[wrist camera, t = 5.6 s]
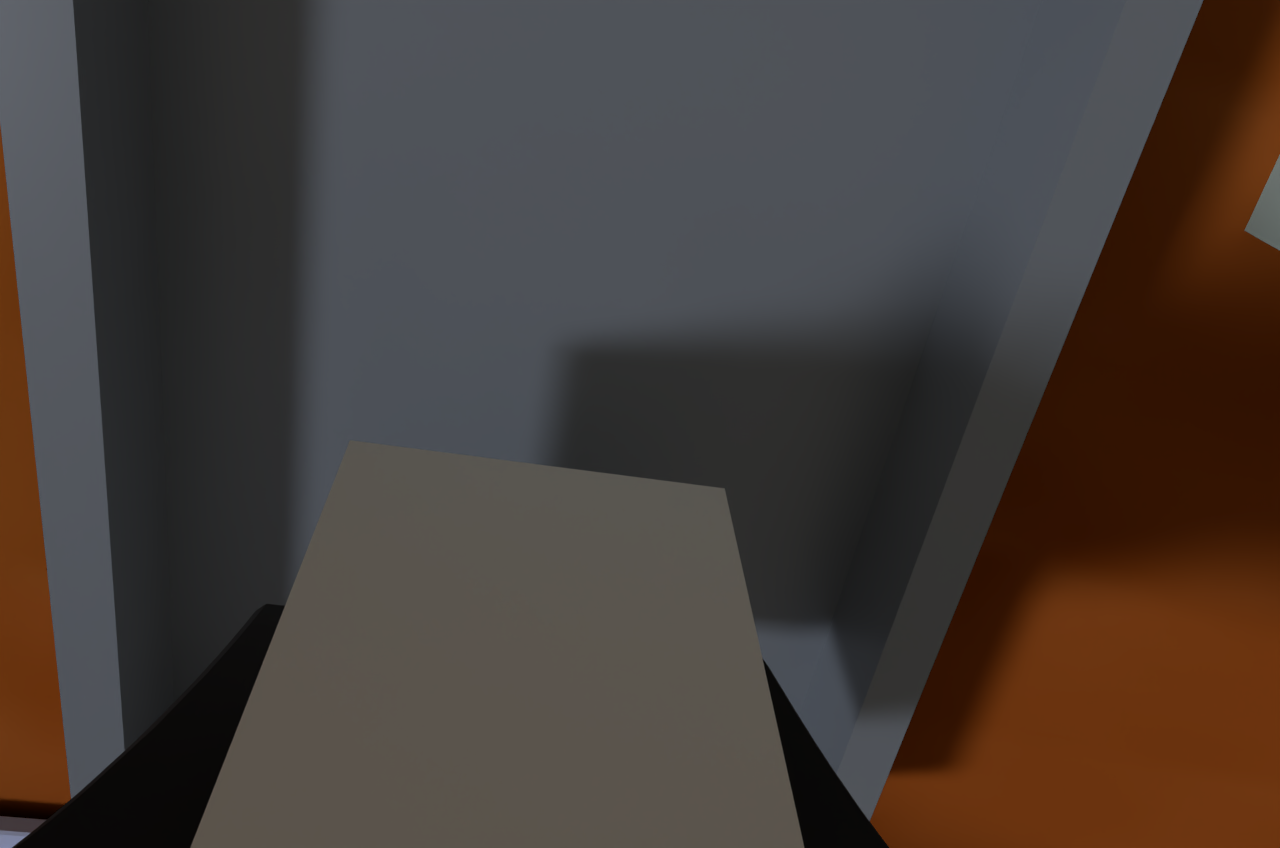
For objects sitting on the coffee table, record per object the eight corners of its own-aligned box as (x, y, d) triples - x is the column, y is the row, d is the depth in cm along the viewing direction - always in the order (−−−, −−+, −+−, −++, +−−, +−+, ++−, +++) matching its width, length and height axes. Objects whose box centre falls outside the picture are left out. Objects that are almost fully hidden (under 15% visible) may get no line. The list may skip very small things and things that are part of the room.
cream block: (656, 753, 15) (697, 1245, 10) (334, 722, 14) (191, 1228, 9) (725, 488, 13) (823, 934, 8) (350, 440, 12) (175, 885, 7)
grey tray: (796, 780, 20) (829, 919, 18) (148, 719, 19) (77, 862, 16) (1156, -245, 12) (1313, -271, 10) (83, -497, 11) (-77, -609, 8)
